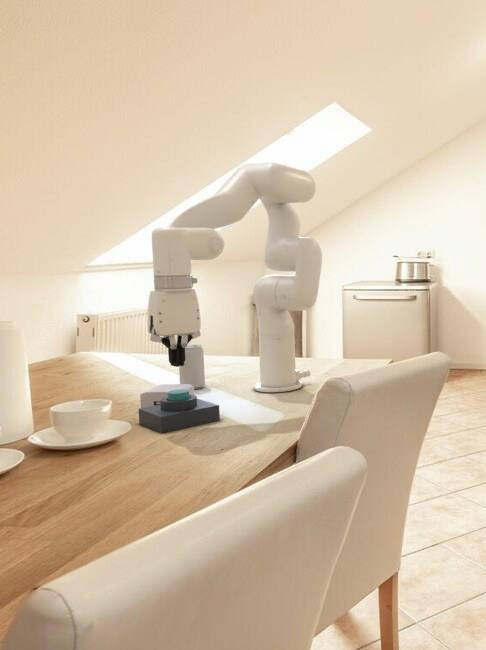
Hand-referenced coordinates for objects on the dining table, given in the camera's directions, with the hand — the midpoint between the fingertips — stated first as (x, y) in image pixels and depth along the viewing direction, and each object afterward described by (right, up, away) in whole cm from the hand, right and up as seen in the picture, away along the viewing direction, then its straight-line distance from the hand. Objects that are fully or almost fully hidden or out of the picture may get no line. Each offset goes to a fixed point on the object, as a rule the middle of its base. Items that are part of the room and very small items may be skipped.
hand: (177, 365), depth 141 cm
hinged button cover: (-10, -12, +18) cm, 23 cm away
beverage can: (-13, -10, +36) cm, 39 cm away
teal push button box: (0, -13, +1) cm, 13 cm away
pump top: (0, -8, +1) cm, 8 cm away
